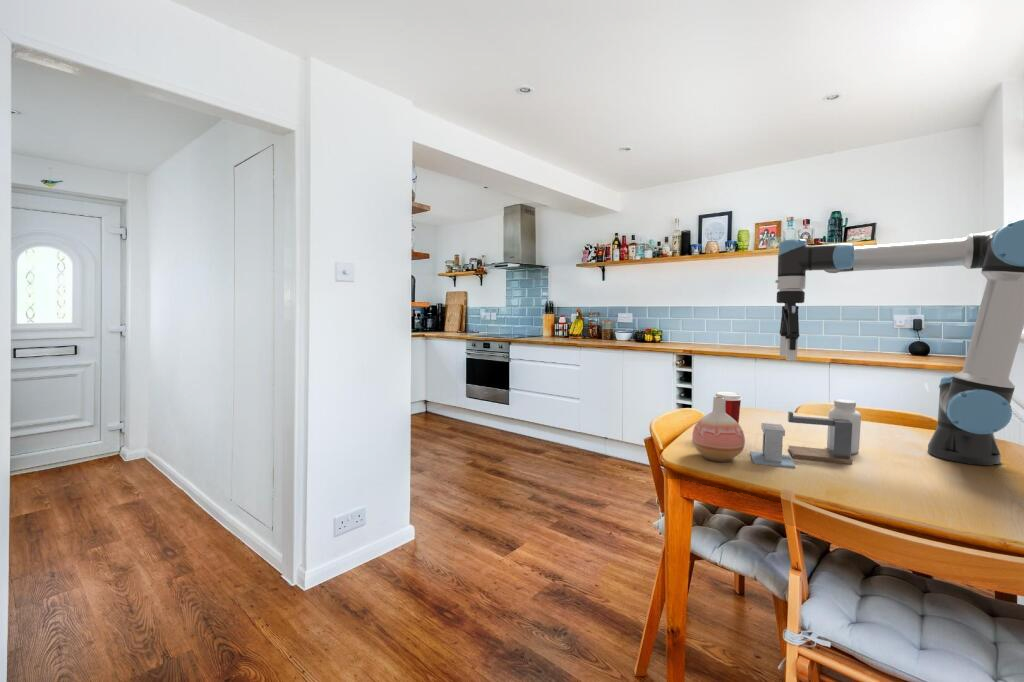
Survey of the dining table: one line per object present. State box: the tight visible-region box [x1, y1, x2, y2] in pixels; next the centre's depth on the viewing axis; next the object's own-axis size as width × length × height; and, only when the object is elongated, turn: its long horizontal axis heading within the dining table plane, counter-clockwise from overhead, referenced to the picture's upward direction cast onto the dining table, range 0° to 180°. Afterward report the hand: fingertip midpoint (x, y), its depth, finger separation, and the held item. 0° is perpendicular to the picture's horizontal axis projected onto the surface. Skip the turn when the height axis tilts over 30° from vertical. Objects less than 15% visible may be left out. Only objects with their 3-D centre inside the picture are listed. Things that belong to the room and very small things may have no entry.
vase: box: [691, 395, 746, 463], centre depth 134 cm, size 14×14×18 cm
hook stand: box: [787, 411, 853, 465], centre depth 136 cm, size 15×9×12 cm, turn 68°
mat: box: [749, 450, 796, 469], centre depth 133 cm, size 10×10×1 cm
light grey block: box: [760, 422, 786, 463], centre depth 133 cm, size 5×7×9 cm
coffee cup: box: [713, 391, 743, 425], centre depth 153 cm, size 8×8×15 cm
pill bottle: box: [826, 398, 862, 455], centre depth 142 cm, size 8×8×15 cm
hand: (787, 358), depth 149 cm, fingers open, 13 cm apart
